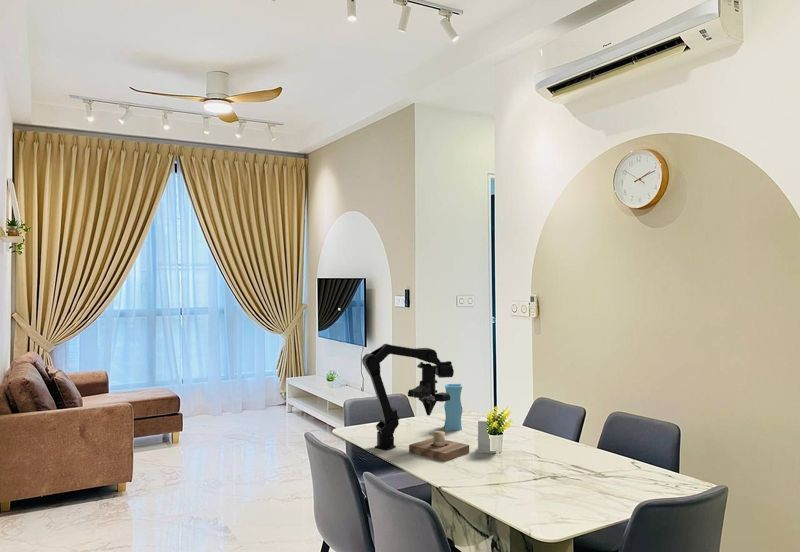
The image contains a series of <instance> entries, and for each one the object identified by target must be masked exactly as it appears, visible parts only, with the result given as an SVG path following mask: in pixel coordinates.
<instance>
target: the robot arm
mask: <svg viewBox="0 0 800 552" xmlns="http://www.w3.org/2000/svg"><path fill="white" fill-rule="evenodd" d="M436 351H437V350H435V349H433V348H430V347H417V348H416V347H415V348H413V347H407V346H400V345H393V344H389V343H384V344H382V345H381V346H380V347H378V348H376V349H375V350H373V351H371V352H370V353H366V354H365V355H364V356H363V357H362V359H361V362H362V365H363V366H364V368H365V370H366V372H367V374H368V375H369V377H370V380H371V382H372V386H373V389H374V392H375V396H376V398H377V402H378V405H379V408H380V412H379V413H380V420H379V421H378V423H377V424H376V425H375V427H376V430H377V432H376V434H377V435H376V436H377V437H376V445H374V448H376V449H380V450H384V451H387V450H390V449H391V450H392V449H394V448H396V447H397V446H396V444H395V436H394V433H395V430H396V429H397V428H398V426H399V424H400V421H399V420H401V419H400V417H399V415H398V410H397V409H396V408H394V407H393V406H392V407H391V404H390V400H389V398H388V395H387V391H386V388H385V385H384V382H383V378H382V375H381V362H383V361H384V360H385V359H386V358H387V357H388V356H389V355H394V356H395V355H396V356H402V357H406V358H415V359H418V360H420V362H419V363H418V364H417V365H416V367H417V368H418V369H421V380H419V383H418V384H419V385H417V386H415V387H414V388H412V389H411V388H410V389H408V391H407V397H409V398H410V397H411V398H414V399H417V400H418V401H420V402H421V403H422V406H423V407H424V410H425V412H426V416H429V417H430V416H431V414H432V412H433V409H434V408H435V405H436V404H437V402H440V403H441V402H442V403H443V402H444V403H445V401H448V400H450V395H449V393H446V392H443V391H442V392H438V390H437V389H436V384H438V380H437V379H436V376H437V377H438V378H439V379H442V378H445V379H446V378H453V377H454V373H455V372H454V371H455V370H454V366H453V365H452V361H450V360H447V361H441V360H440V358H439V357H438V353H437V352H436ZM424 362H426V363H424Z"/></svg>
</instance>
